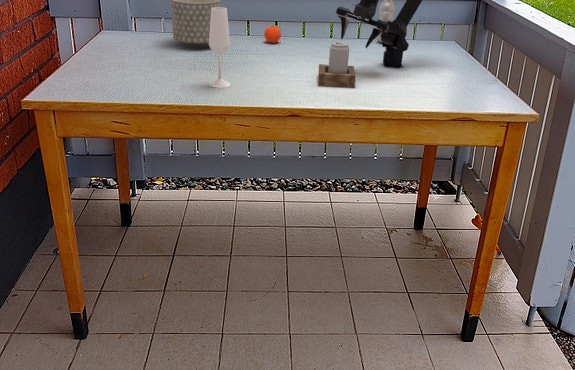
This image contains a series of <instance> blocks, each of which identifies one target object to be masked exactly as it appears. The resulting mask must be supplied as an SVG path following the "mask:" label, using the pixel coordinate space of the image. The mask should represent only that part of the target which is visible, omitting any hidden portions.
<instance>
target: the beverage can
mask: <svg viewBox="0 0 575 370" xmlns="http://www.w3.org/2000/svg"><path fill="white" fill-rule="evenodd" d="M349 54H350V46H349V43H347V42H346V41H333V42H331V44H330V47H329V56H328V65H329V69H328V73H341V74H347V69H348V66H349V57H350V55H349Z"/></svg>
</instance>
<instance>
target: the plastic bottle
mask: <svg viewBox="0 0 575 370" xmlns="http://www.w3.org/2000/svg"><path fill="white" fill-rule="evenodd" d="M395 11H396V5H395V4H394V2H393V0H382V2H381V4H380V5H379V11H378V12H379V20H382V21H384V22H388V21H391V22H392V21H394V20H393V19H394V15H395ZM375 39H376V41H377V42H378V43H381V44H382V41H381V34H379V35H378V36H377V37H376V38H375Z"/></svg>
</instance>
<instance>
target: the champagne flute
mask: <svg viewBox="0 0 575 370" xmlns="http://www.w3.org/2000/svg"><path fill="white" fill-rule="evenodd" d="M227 9H228V8H227V7H223V6H220V7H213V8H211V19H210V34H209V45H208V46H209V48H210V50H211V51H212V52H214V54H215V55H217V75H218V76H217V79H215V80H213V81H211V82H210V83H209V86H211V87H212V88H213V87H214V88H227V87H229V86H231V83H230V82H229V81H226V80H224V79H223V76H222V75H223V74H222V73H223V70H222V69H223V68H222V67H223V64H222V59H223V58H222V57H223V56H222V55H224V54H225V53H226V52H227V51H228V50H229V48H230V46H231V39H230V26H229V19H228V10H227Z"/></svg>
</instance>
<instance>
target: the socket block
mask: <svg viewBox="0 0 575 370" xmlns="http://www.w3.org/2000/svg"><path fill="white" fill-rule="evenodd" d="M328 69H329V64H326V63H325V64H322V63H320V64H318V72H317V73H318V74H317V75H318V79H317V82H318V84H317V85H318V87H332V88H333V87H335V88H352V89H354V88H355V87H356V78H357V75H356V71H355V66H354V65H348V69H347V74H341V73H328Z"/></svg>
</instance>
